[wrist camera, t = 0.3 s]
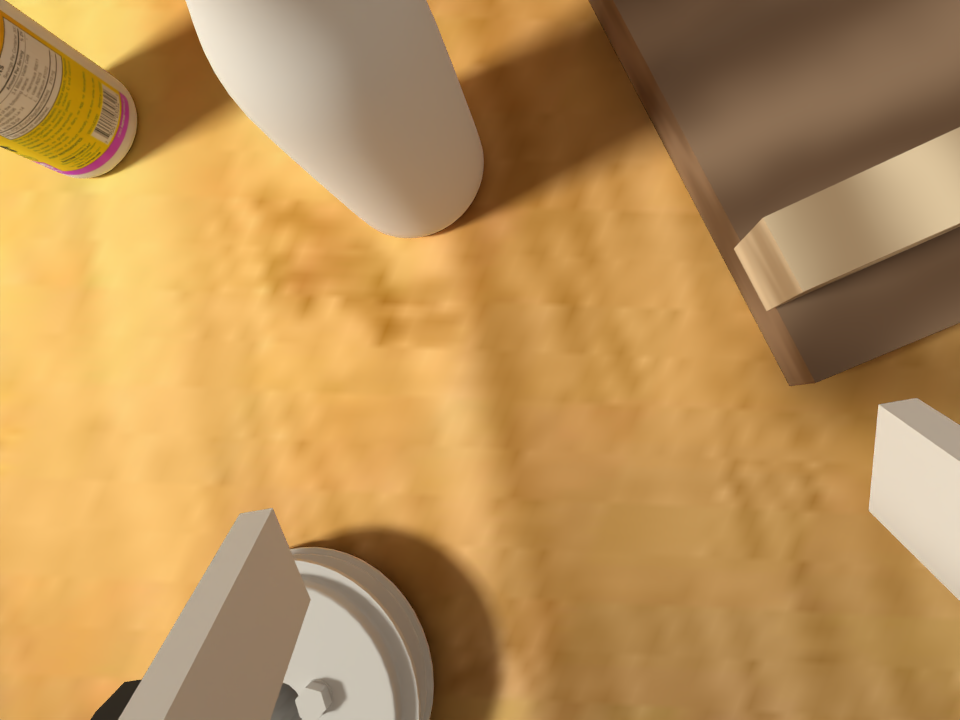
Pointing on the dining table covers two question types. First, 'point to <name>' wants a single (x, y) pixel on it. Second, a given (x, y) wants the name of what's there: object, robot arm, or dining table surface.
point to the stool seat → (803, 143)
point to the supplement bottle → (59, 102)
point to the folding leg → (855, 222)
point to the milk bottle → (353, 101)
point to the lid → (355, 646)
